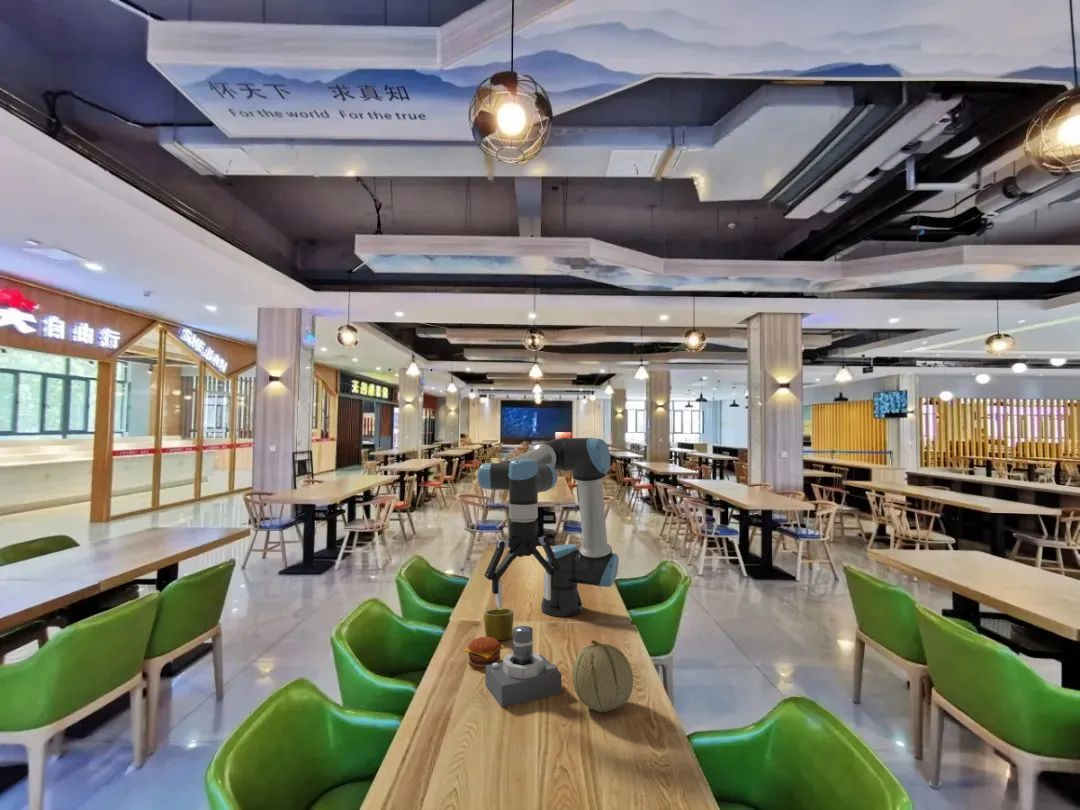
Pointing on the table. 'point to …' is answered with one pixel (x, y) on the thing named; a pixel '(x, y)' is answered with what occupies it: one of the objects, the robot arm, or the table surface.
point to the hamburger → (484, 652)
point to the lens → (522, 645)
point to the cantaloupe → (602, 677)
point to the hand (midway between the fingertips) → (523, 602)
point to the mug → (499, 623)
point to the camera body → (522, 680)
